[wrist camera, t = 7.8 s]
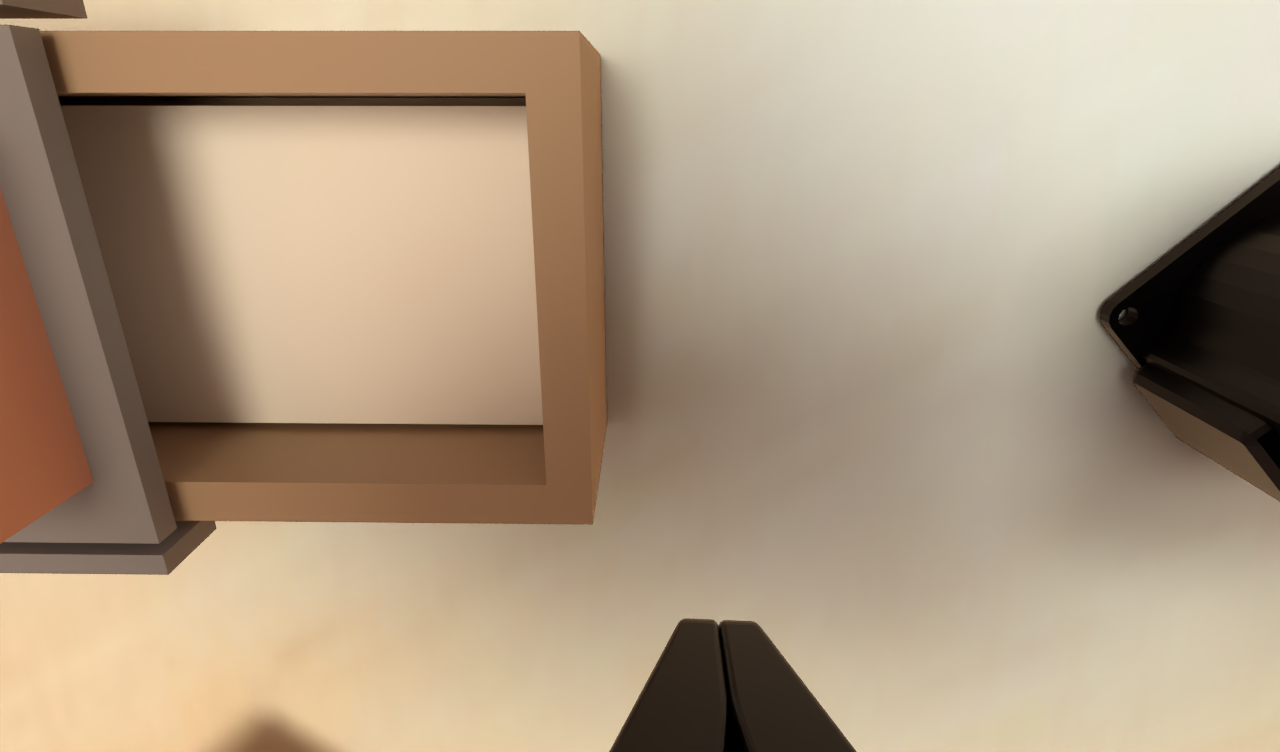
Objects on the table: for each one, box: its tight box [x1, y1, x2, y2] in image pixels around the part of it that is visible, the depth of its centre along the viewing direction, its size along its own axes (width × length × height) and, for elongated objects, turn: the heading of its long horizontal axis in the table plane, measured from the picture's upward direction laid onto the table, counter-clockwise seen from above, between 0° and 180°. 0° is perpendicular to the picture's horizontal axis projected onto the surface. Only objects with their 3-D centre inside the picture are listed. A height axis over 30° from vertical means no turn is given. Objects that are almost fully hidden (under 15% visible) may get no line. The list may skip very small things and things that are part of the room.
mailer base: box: [40, 31, 607, 524], centre depth 16 cm, size 15×10×5 cm, turn 90°
